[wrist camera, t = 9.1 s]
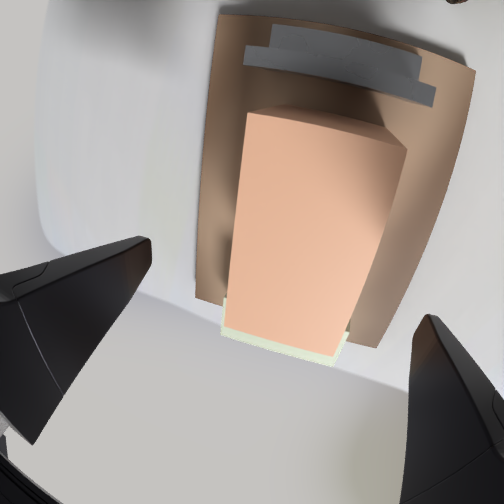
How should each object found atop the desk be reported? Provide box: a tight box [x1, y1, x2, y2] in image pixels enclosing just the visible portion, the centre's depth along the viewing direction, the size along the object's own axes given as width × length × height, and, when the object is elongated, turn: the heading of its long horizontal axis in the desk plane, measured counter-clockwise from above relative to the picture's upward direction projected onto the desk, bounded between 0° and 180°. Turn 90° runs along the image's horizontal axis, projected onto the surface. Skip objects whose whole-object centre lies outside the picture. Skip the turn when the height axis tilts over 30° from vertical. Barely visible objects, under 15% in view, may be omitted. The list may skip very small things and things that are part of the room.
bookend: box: [243, 24, 436, 108], centre depth 11 cm, size 7×2×4 cm, turn 82°
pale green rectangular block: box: [220, 293, 351, 367], centre depth 18 cm, size 7×3×3 cm, turn 82°
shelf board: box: [195, 14, 476, 348], centre depth 16 cm, size 13×18×1 cm
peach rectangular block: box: [224, 104, 408, 357], centre depth 14 cm, size 5×9×6 cm, turn 173°
